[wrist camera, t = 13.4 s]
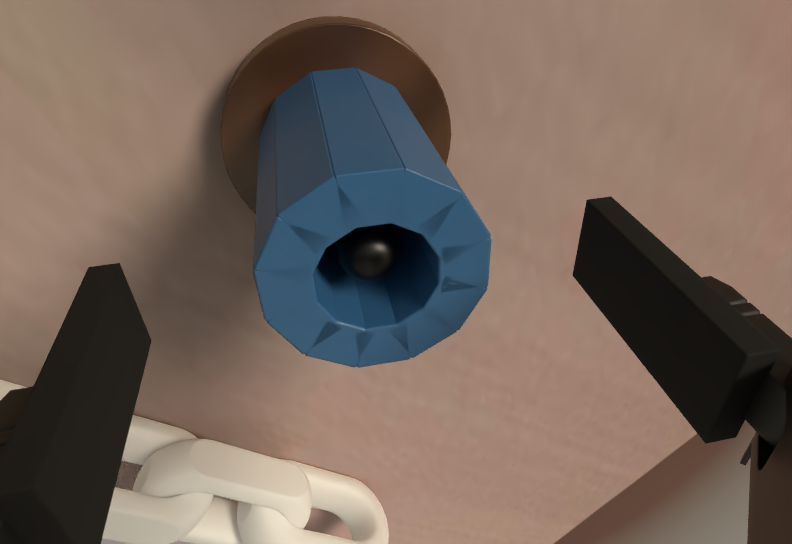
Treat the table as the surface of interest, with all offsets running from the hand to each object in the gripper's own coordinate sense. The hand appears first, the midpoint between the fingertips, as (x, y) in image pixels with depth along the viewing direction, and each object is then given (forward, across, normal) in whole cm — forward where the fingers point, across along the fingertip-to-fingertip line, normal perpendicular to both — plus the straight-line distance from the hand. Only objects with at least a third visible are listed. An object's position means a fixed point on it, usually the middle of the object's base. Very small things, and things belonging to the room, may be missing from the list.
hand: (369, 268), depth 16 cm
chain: (+11, -12, -19) cm, 25 cm away
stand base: (+11, 0, 0) cm, 11 cm away
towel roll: (+10, 0, 0) cm, 10 cm away
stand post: (+10, 0, 0) cm, 10 cm away
